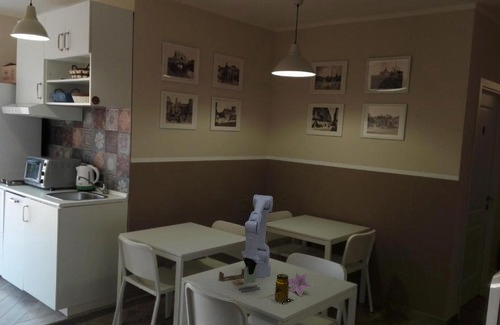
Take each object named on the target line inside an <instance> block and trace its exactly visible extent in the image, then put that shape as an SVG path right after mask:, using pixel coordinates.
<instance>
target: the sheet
mask: <svg viewBox="0 0 500 325" xmlns="http://www.w3.org/2000/svg"><path fill="white" fill-rule="evenodd" d="M243 269H244V279H243V280H244V285H248V284H252V283H257V282H256V280H257V278H256V269H257V266H256V267H255V270H254V273H253V274H251V275H249V272H248V266H244V268H243Z"/></svg>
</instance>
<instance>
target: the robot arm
mask: <svg viewBox="0 0 500 325" xmlns="http://www.w3.org/2000/svg"><path fill="white" fill-rule="evenodd" d="M273 205H274V197H273V196H272V195H262V194H254V195H253V199H252V206H253V207H254V210H253V211H251V213H250V215H249V218H248V220H247V221H245V224H244V235H245V236H244V237H245V247H244V248H245V249H244V250H242V251H241V256H242V260H243V262H244V265H245V266H248V272H249V275H251V274H253V273H254V270H255V267H256V266H257V269H256V279H262V278H267V277H271V271H272V270H271V268H272V267H271V266H272V265H271V262H270V255H271V252H270V250H271V249H270V246H269V245H267V243H266V236H267V223H268V216H269V213H271V212H273ZM245 266H244V267H245Z"/></svg>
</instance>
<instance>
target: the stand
mask: <svg viewBox="0 0 500 325" xmlns="http://www.w3.org/2000/svg"><path fill="white" fill-rule="evenodd" d="M260 290H261V287H260V286H259V287H258V285H256V284H255V285H250V286H243V287H238V291H239V292H240V293H243V294H244V293H248V292H256V291H260Z"/></svg>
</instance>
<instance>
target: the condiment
mask: <svg viewBox="0 0 500 325" xmlns="http://www.w3.org/2000/svg"><path fill="white" fill-rule="evenodd" d="M288 279H289V276H288V274H286V273H279V274H277V276H276V281H275V288H274V289H275V291H274V298H273V299H271V301H272V302H275V301H276V302H275V303H278V302H279V303H278V304H281V305H287V304H288V303H290V302H293V300H295V298H290V297H289V291H290V290H289V286H290V285H289V281H288ZM288 300H289V301H288ZM282 303H283V304H282Z"/></svg>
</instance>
